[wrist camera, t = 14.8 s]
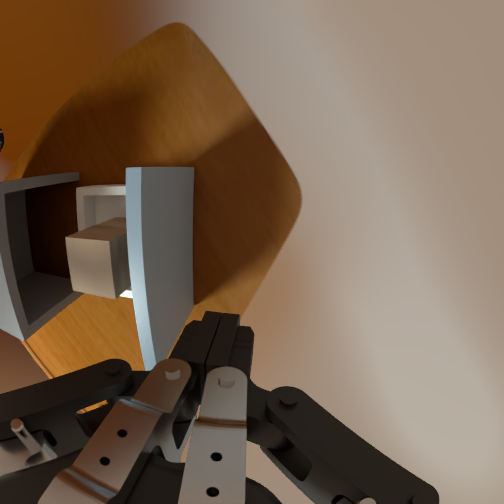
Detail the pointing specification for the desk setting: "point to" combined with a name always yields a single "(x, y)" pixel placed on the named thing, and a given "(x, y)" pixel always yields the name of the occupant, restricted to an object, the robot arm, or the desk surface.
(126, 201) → the drawer
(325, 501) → the robot arm
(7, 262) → the cabinet
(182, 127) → the desk surface
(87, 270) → the block
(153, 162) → the desk surface
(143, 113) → the desk surface
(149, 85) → the desk surface
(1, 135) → the battery charger
